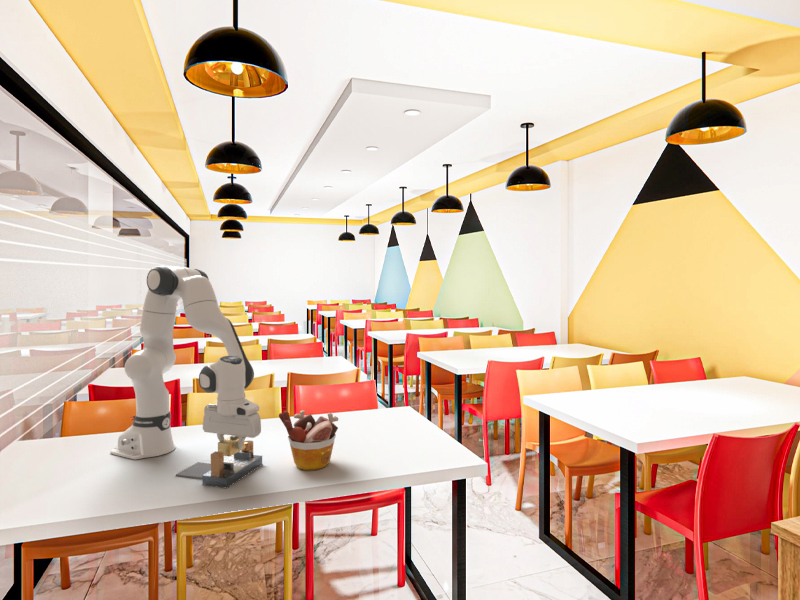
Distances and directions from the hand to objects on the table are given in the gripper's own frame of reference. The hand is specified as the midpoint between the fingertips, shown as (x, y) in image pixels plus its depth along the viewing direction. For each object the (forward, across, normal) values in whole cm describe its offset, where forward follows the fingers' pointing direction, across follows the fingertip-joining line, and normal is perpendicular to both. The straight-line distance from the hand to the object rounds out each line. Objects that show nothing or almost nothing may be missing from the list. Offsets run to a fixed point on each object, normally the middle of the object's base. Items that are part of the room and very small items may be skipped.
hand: (231, 447), depth 162 cm
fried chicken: (+9, +22, +15) cm, 27 cm away
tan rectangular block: (+1, 0, 0) cm, 1 cm away
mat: (+9, -11, -1) cm, 15 cm away
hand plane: (+9, +1, 0) cm, 9 cm away
